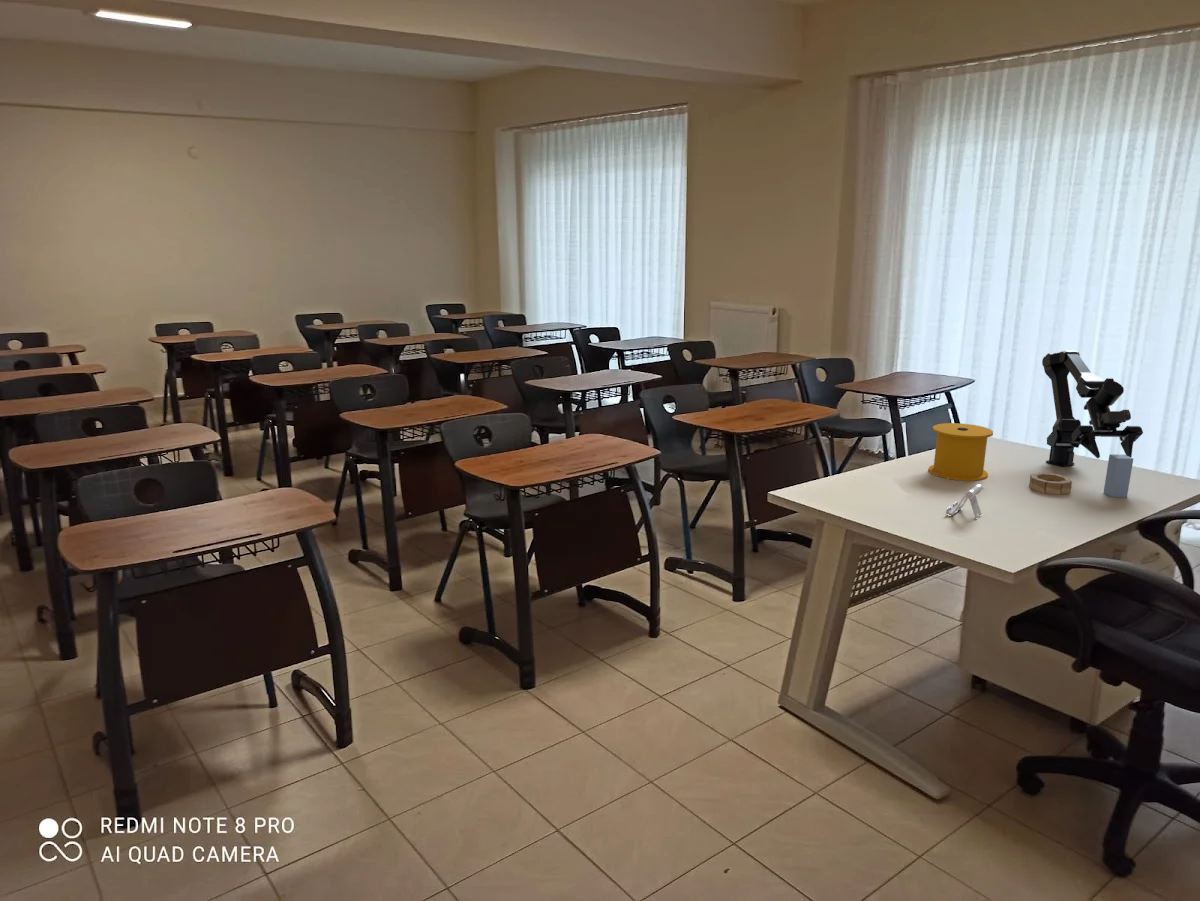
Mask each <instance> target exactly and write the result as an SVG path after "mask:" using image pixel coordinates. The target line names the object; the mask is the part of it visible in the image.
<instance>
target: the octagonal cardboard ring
mask: <svg viewBox="0 0 1200 901" xmlns="http://www.w3.org/2000/svg"><path fill="white" fill-rule="evenodd" d="M1028 483H1029V485H1028V486H1029V488H1030V489H1031V490H1032V489H1033V490H1032V491H1035V490H1036V491H1035V492H1039V493H1042V494H1051V495H1059V496H1060V495H1066V494H1071V490H1072V485H1073V481H1072V479H1071V478H1070V477H1068V476H1065V475H1061V474H1057V473H1051V472H1036V473H1031V474H1030V475H1029V482H1028Z"/></svg>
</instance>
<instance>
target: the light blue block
mask: <svg viewBox="0 0 1200 901" xmlns="http://www.w3.org/2000/svg"><path fill="white" fill-rule="evenodd" d="M1133 463H1134V458H1133V457H1129V456H1127V455H1126V454H1109V456H1108V462H1107V468H1106V474H1105V475H1106V476H1105V481H1104V486H1103V494H1105V495H1107V496H1109V497H1110V498H1128V493H1129V487H1130V481H1131V476H1132V469H1133Z"/></svg>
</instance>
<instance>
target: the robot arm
mask: <svg viewBox="0 0 1200 901" xmlns="http://www.w3.org/2000/svg"><path fill="white" fill-rule="evenodd" d="M1041 364H1042V366H1043V370H1044V373H1045V374H1046V376H1047V377H1048V378H1049V379H1050V381H1051V387H1052V395H1053V402H1054V410H1055V417H1056V420H1055V422H1054V424H1053V426H1052V431H1051V433H1050V434H1049V435H1048V436H1047V437H1046V445H1048V446H1049V447H1050V449H1049V456H1048V457H1049V458H1048V459H1047V460H1045V463H1048V464H1051V465H1055V466H1059V467H1067V466H1074V465H1075V462H1074V460H1075V459H1074V458H1075V452H1074V451H1075V450H1074V449H1075V448H1079V447H1080V445H1081V446H1083V448H1084V449H1086V450H1087V451H1089V452H1090V453H1091V455H1093V456H1094V457H1095V458H1096V459H1099V458H1100V457H1101V455H1100V454H1101V453H1100V451H1099V448H1098V445H1097V442H1096V437H1101V438H1119V441H1120V445H1121V448H1122V449H1123V452H1124V455H1127V456H1129V457H1131V458H1133V457H1132V455H1133V445H1134V442H1136V441H1137V440H1138V439H1139V438H1140V437H1141V436H1142V435H1143V434H1144V432H1143V428H1142V426H1140V425H1126V426H1125V427H1124V428H1123V430H1122V429H1120V430H1119V429H1118V430H1117V428H1120V427H1121V424H1122V423H1126V422H1127V421H1130V420H1131V419H1132V415H1131V411H1130V409H1122V410H1119V411H1118V410H1117V411H1116V410H1113V411H1111V409H1110V406H1112V405H1114V404H1115V403H1116V401H1118V400H1119V399H1120V397H1121V396H1122V394H1124V392H1125V389H1124V386H1122V384H1120V383H1119V382H1117V381H1116V380H1114V378H1112V377H1110V378H1109V377H1108V378H1107V377H1106V379H1105V380H1104V379H1103V378H1102V377H1101V376H1098V375H1097V374H1093V372H1091V370H1090V368H1089V367H1088V366H1087V365H1086V363H1085V362H1084V360H1083V359H1082V357H1081V355H1080V352H1079V351H1077V350H1063V351H1059V352H1055V353H1049V352H1048V353H1046V355H1045V356H1043V358H1042V362H1041ZM1069 374H1070V375H1071V376H1072V377H1073V379H1074V380H1075V382H1076V386H1075V389H1076V391H1077V394H1078V395H1079V397H1080V398H1081V399H1082V398H1083V399H1085V398H1086V399H1087V398H1088V400H1086V403H1085V405H1083V410H1087V412H1088V415H1089V421H1088V424H1089V425H1082V423H1081V420H1080V419H1076V418H1075V417H1074V416H1073V407H1072V401H1071V395H1070V388H1069V381H1068V380H1069V379H1068V376H1069Z"/></svg>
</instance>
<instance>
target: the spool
mask: <svg viewBox="0 0 1200 901" xmlns="http://www.w3.org/2000/svg"><path fill="white" fill-rule="evenodd" d="M932 431H933V432H935V433H936V439H935V440H936V441H935V449H934V450H935V451H934V460H933V464H931V465H929V466H928V472H929V473H930V474H931V473H932V474H931V475H933V474H934V475H933V476H935V475H937V476H936V477H938V476H940V477H939V478H941V477H944V478H943V479H946V478H949V479H948V480H951V479H954V480H953V481H959V480H963V481H962V482H977V480H978V481H983V480H985V479H988V477H989V472H987V471H986V470H985V469H984V468H985V460H986V454H987V453H986V452H987V446H988V445H987V443H988V438H990V437H992V436H993V435H994V431H993V430H992V429H990V428H987V427H986V426H981V425H976V424H970V423H962V422H961V423H957V422H956V423H955V422H954V423H953V422H949V423H948V422H944V423H938V424H935V425H933V426H932ZM982 479H983V480H982Z"/></svg>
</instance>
